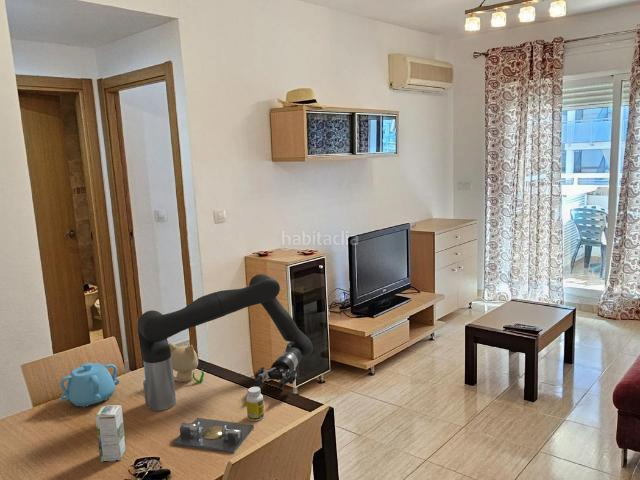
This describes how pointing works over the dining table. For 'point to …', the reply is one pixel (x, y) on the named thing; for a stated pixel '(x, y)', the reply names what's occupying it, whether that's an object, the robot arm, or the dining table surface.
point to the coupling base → (213, 435)
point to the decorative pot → (89, 384)
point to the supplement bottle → (255, 404)
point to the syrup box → (110, 433)
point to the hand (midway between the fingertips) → (268, 384)
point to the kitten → (184, 362)
